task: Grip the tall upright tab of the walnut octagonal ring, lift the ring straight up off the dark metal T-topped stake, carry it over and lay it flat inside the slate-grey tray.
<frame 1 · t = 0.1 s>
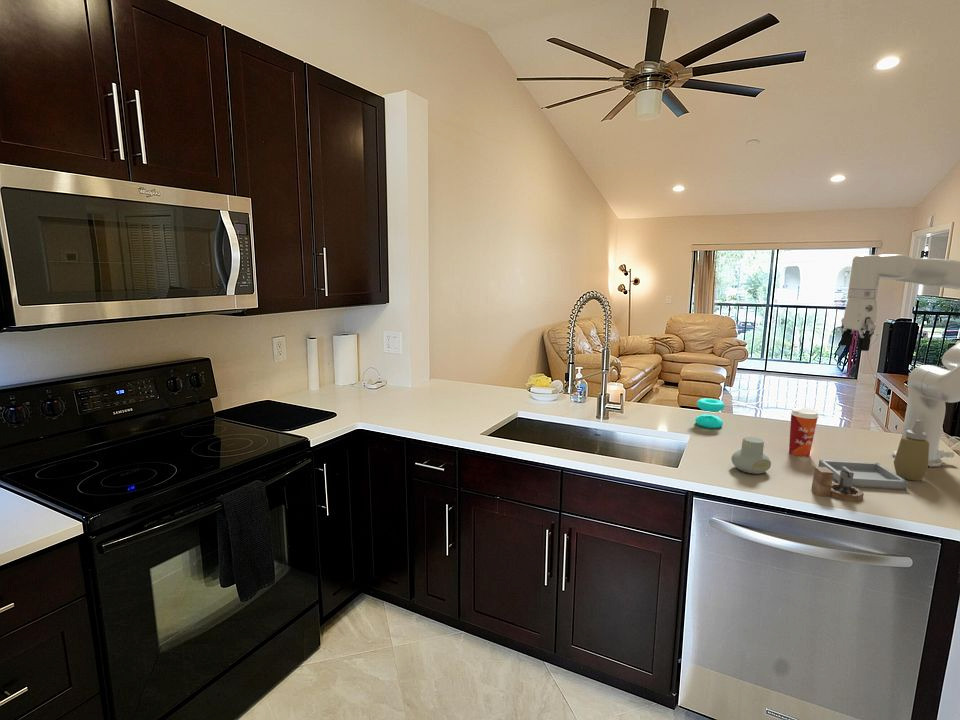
hand: (854, 347, 167), 37 cm above the countertop, tool pointing down, fingers open, 9 cm apart
tray: (860, 478, 156), on the countertop
tabbed ring: (843, 494, 145), on the countertop
donuts: (708, 425, 205), on the countertop
squeeze bottle: (908, 477, 157), on the countertop
air freshener: (749, 470, 162), on the countertop
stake: (843, 494, 145), on the countertop
coffee cup: (799, 453, 176), on the countertop
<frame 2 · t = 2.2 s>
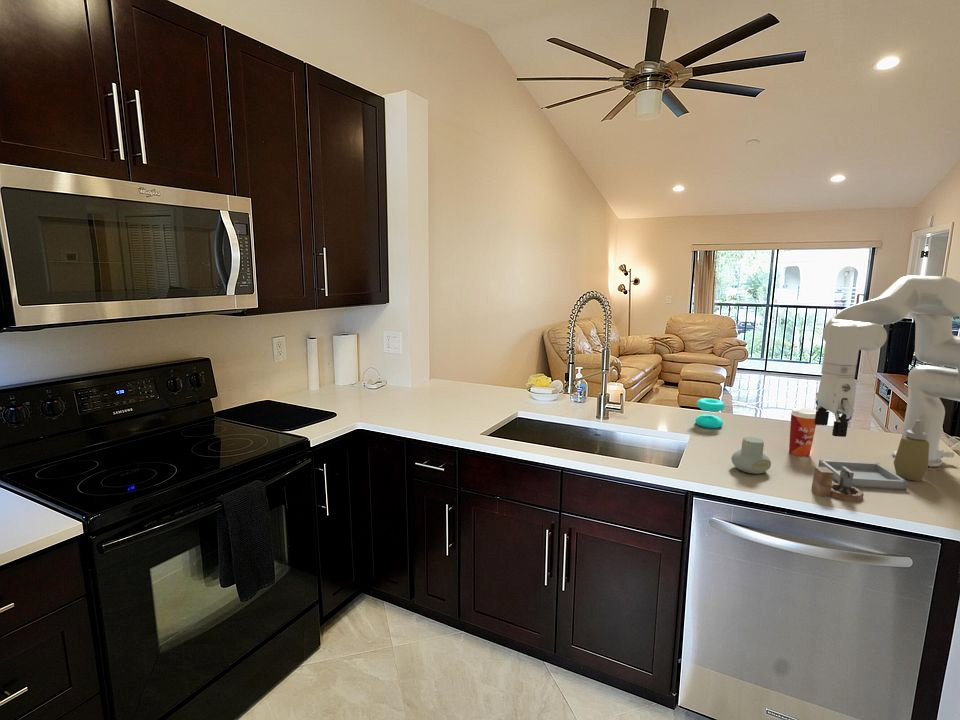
hand: (829, 430, 143), 18 cm above the countertop, tool pointing down, fingers open, 9 cm apart
nothing on the countertop moved.
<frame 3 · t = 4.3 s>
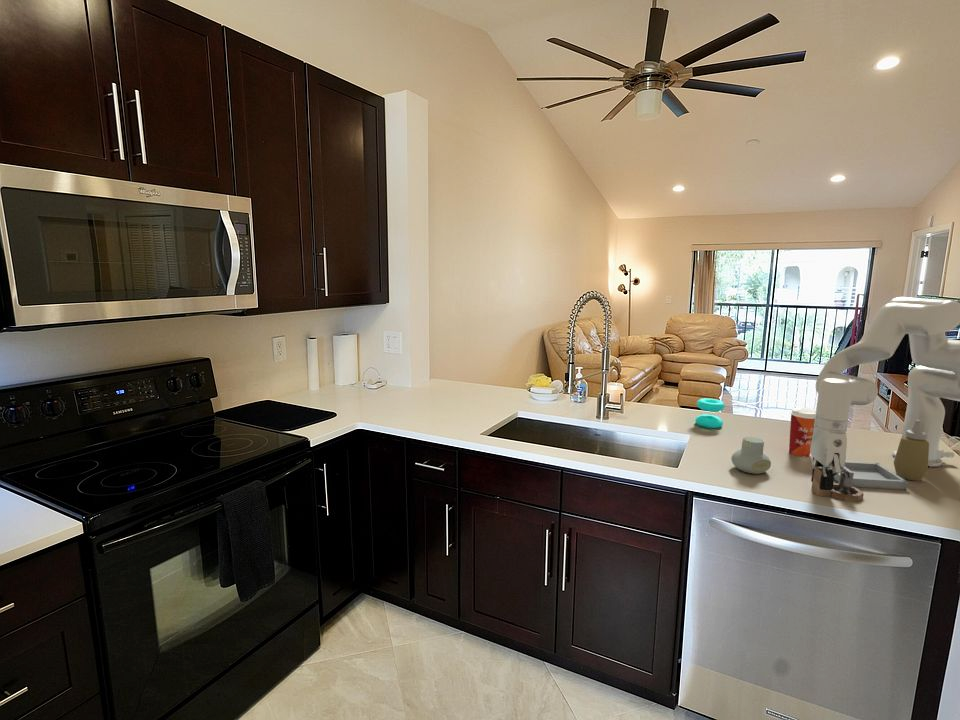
hand: (821, 485, 146), 2 cm above the countertop, tool pointing down, fingers closed on tabbed ring, 3 cm apart
tabbed ring: (843, 494, 145), on the countertop, touching gripper
everything else where it was.
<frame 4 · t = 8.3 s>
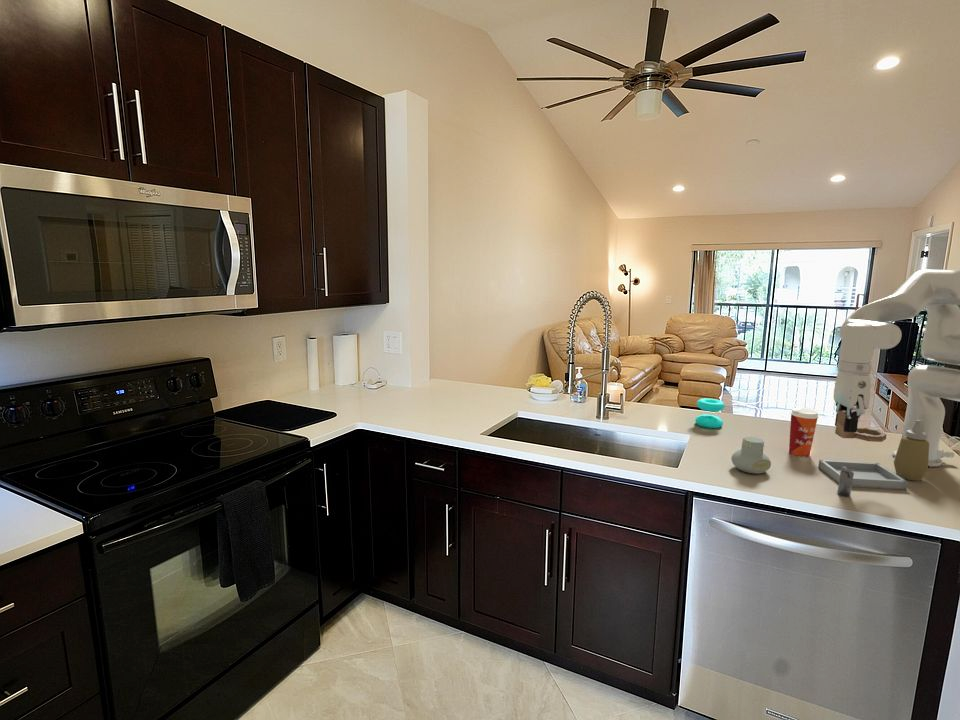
hand: (845, 428, 150), 17 cm above the countertop, tool pointing down, fingers closed on tabbed ring, 3 cm apart
tabbed ring: (866, 436, 150), point 14 cm above the countertop, touching gripper
everything else where it was.
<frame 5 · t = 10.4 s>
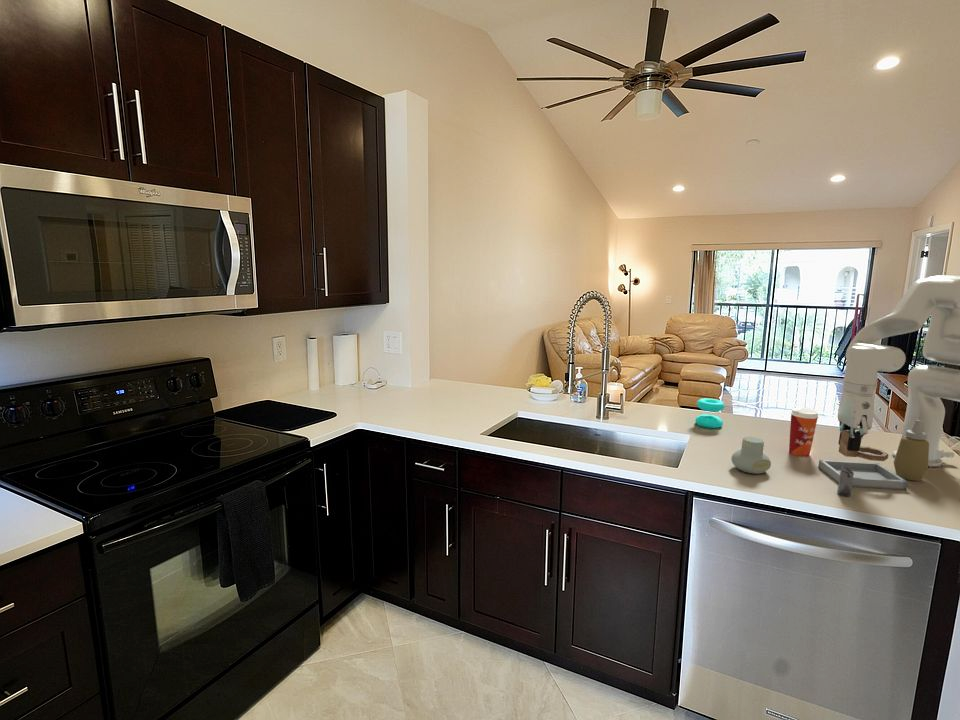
hand: (848, 447, 155), 10 cm above the countertop, tool pointing down, fingers closed on tabbed ring, 3 cm apart
tabbed ring: (869, 455, 155), point 7 cm above the countertop, touching gripper
everything else where it was.
when the fingers open (4 cm above the countertop, at t = 12.2 s): tabbed ring moves 1 cm, resting on tray.
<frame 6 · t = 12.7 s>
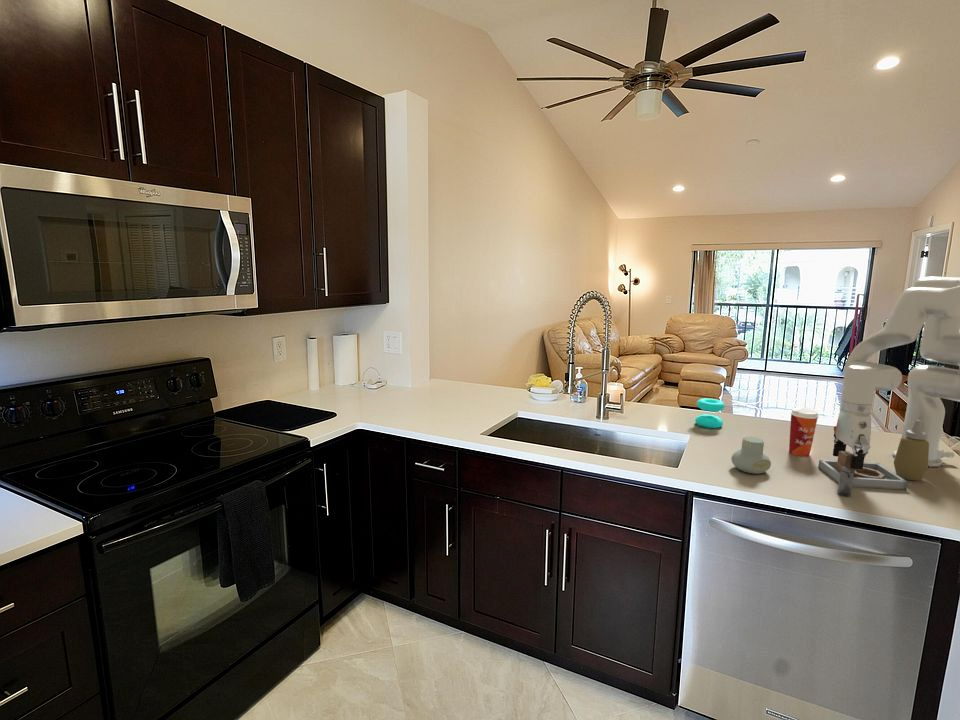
hand: (847, 462, 156), 5 cm above the countertop, tool pointing down, fingers open, 9 cm apart
tabbed ring: (866, 476, 156), resting on tray
everything else where it was.
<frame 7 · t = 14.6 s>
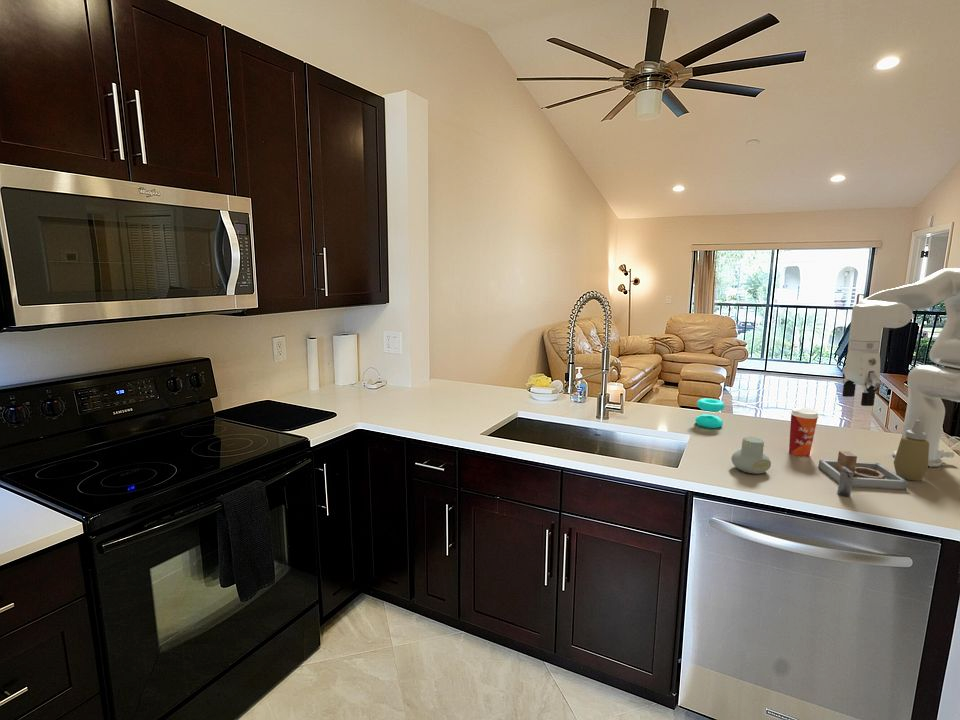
hand: (857, 400, 158), 22 cm above the countertop, tool pointing down, fingers open, 9 cm apart
nothing on the countertop moved.
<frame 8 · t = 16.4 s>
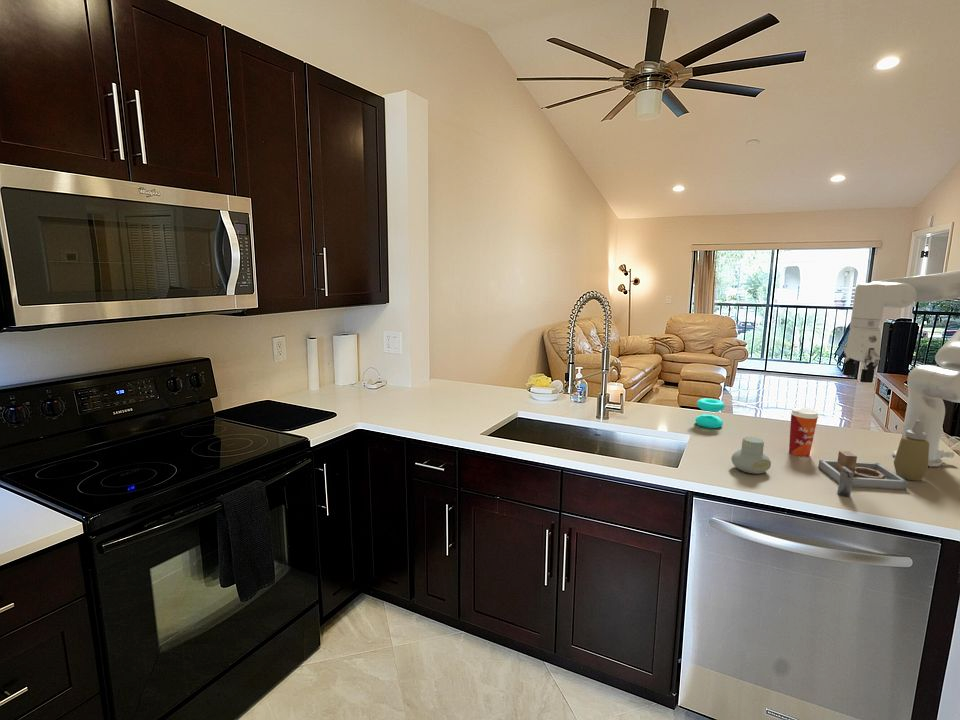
hand: (857, 378, 162), 28 cm above the countertop, tool pointing down, fingers open, 9 cm apart
nothing on the countertop moved.
at the end: tabbed ring inside the target area on the tray (0.1 cm from its centre), point 0.5 cm above the tray's base; tabbed ring tilted 0°; the gripper is holding nothing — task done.
